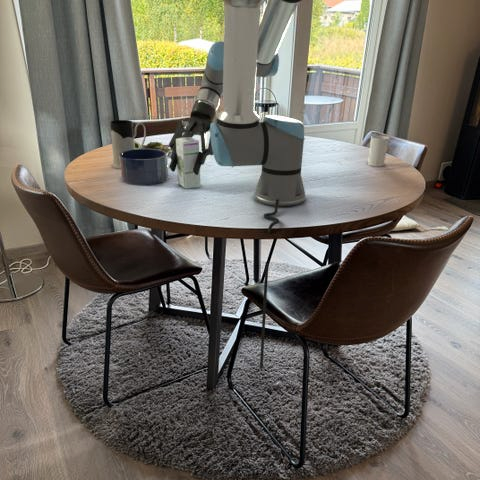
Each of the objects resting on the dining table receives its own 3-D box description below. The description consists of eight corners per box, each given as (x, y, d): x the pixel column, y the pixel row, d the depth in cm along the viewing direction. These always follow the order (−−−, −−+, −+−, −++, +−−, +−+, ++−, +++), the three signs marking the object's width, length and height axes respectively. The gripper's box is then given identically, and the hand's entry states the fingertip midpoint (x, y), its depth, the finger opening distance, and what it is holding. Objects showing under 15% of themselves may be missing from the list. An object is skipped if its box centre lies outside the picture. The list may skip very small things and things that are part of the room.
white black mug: (108, 165, 179) (103, 121, 172) (140, 159, 188) (137, 117, 180) (122, 170, 174) (117, 125, 166) (154, 163, 183) (151, 120, 175)
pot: (166, 185, 160) (165, 160, 156) (118, 184, 159) (115, 159, 155) (170, 172, 173) (168, 148, 169) (125, 172, 172) (123, 148, 168)
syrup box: (201, 186, 159) (200, 140, 152) (184, 189, 157) (182, 141, 149) (193, 182, 164) (192, 136, 156) (177, 184, 161) (175, 138, 153)
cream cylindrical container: (386, 166, 186) (391, 139, 181) (369, 166, 186) (373, 138, 181) (382, 162, 192) (386, 135, 187) (365, 162, 192) (369, 135, 187)
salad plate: (162, 145, 208) (162, 134, 206) (184, 154, 196) (184, 142, 193) (120, 151, 198) (118, 139, 196) (139, 160, 186) (138, 148, 184)
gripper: (237, 118, 159) (216, 181, 155) (181, 113, 166) (159, 173, 161) (231, 102, 152) (209, 168, 148) (172, 97, 159) (149, 160, 154)
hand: (183, 170), depth 155 cm, fingers closed on syrup box, 8 cm apart
